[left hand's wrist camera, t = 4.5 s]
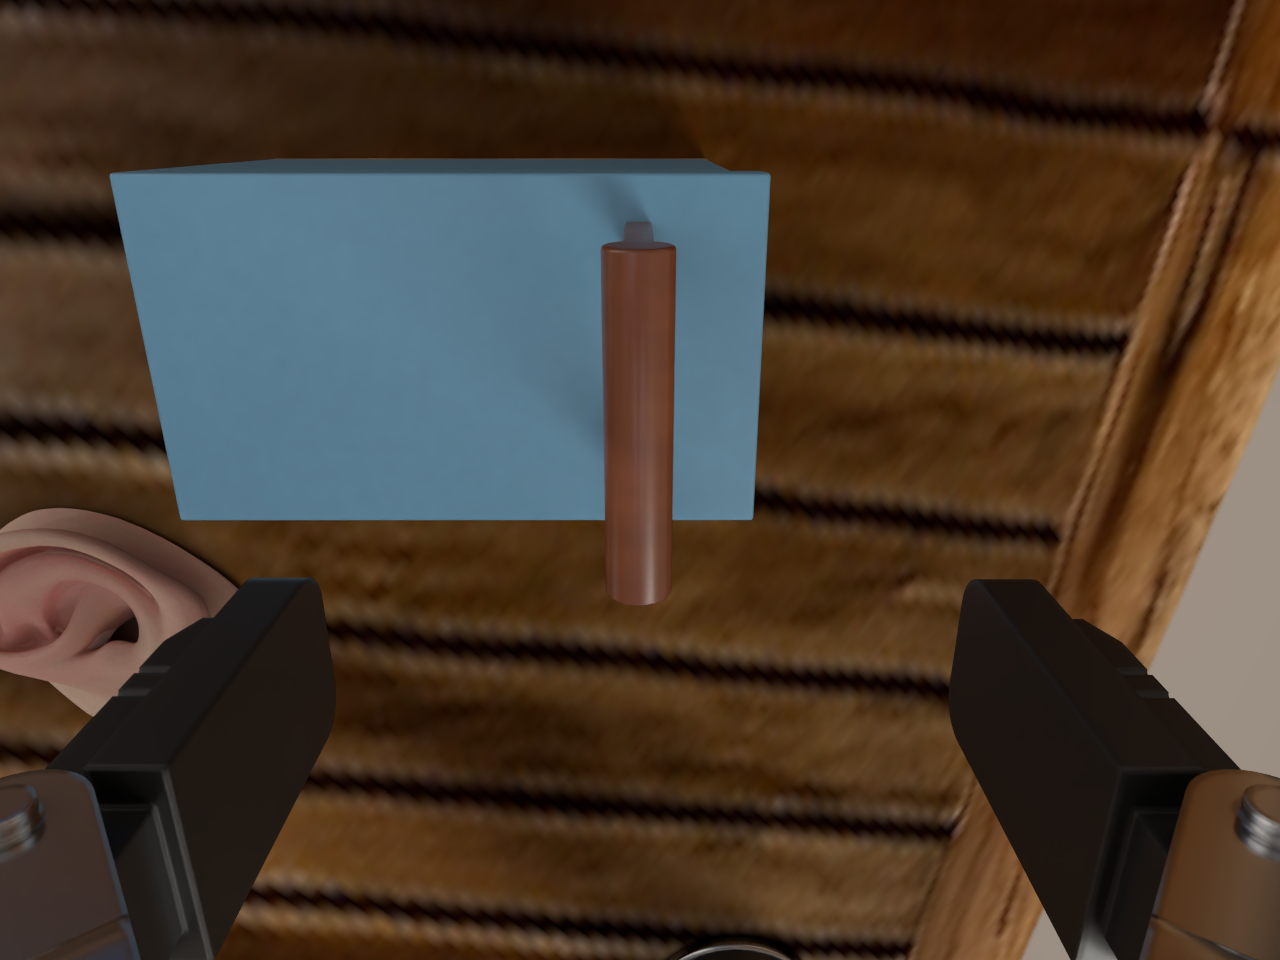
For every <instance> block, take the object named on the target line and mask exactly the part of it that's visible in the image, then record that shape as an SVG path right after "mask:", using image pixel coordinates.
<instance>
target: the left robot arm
mask: <svg viewBox="0 0 1280 960" xmlns="http://www.w3.org/2000/svg"><path fill="white" fill-rule="evenodd" d="M335 704H336V688H335V680H334V673H333V666H332V660H331V653H330V646H329V639H328V633H327V626H326V619H325V613H324V606H323V599H322V594H321V591H320V588H319V585H318V583H317V582H316V581H315V580H314V579H312V578H250V579H248V580H246V581H245V582H244V583H243V584H242V586H241V587H240V588H239V589H238V590H237V591H236V592H235V594H234V595H233V596H232V597H231V598H230V599H229V601H228V602H227V603H226V604H225V605H224V606H223V607H222V609H221V610H220V611H219V612H218V613H217V614H216V615H215V617H214V618H201V619H200V620H198V621H196V622H195V623H193V624H191V625H190V626H188V627H186V628H185V629H183V630H181V631H180V632H178V633H176V634H175V635H173V636H171V637H169V638H168V639H166V640H164V641H163V643H162V644H161V645H160V646H159V647H158V648H157V649H156V650H155V651H154V652H153V653H152V654H151V655H150V657H149V658H148V659H147V660H146V661H145V662H144V663H143V664H142V665H141V666H140V667H139V673H134V674H133V675H132V676H131V677H130V678H129V679H128V680H127V681H126V682H125V683H124V685H123V686H122V687H121V688H120V689H119V690H118V696H112V697H111V699H110V700H109V701H108V702H107V703H106V704H105V705H104V706H103V707H102V708H101V709H100V710H99V711H98V713H97V714H96V715H95V716H94V717H93V718H92V719H91V720H90V721H89V722H88V723H87V724H86V725H85V727H84V728H83V729H82V730H81V731H80V732H79V733H78V734H77V735H76V736H75V737H74V738H73V739H72V741H71V742H70V743H69V744H68V745H67V746H66V747H65V748H64V749H63V750H62V751H61V752H60V753H59V755H58V756H57V757H56V758H55V759H54V760H53V761H52V762H51V763H50V764H49V765H48V766H47V767H46V769H44V770H34V771H27V772H22V773H18V774H13V775H9V776H6V777H3V778H0V960H215V958H216V956H217V954H218V952H219V950H220V948H221V946H222V944H223V942H224V940H225V938H226V936H227V934H228V932H229V930H230V928H231V927H232V925H233V923H234V921H235V919H236V917H237V915H238V913H239V911H240V909H241V907H242V905H243V903H244V901H245V899H246V897H247V895H248V893H249V891H250V889H251V887H252V885H253V884H254V882H255V880H256V878H257V876H258V874H259V872H260V870H261V868H262V866H263V864H264V862H265V860H266V858H267V856H268V854H269V852H270V850H271V848H272V846H273V844H274V843H275V841H276V839H277V837H278V835H279V833H280V831H281V829H282V827H283V825H284V823H285V821H286V819H287V817H288V815H289V813H290V811H291V809H292V807H293V805H294V803H295V801H296V800H297V798H298V796H299V794H300V792H301V790H302V788H303V786H304V784H305V782H306V780H307V778H308V776H309V774H310V772H311V770H312V768H313V766H314V764H315V762H316V760H317V758H318V757H319V755H320V753H321V751H322V749H323V747H324V745H325V743H326V741H327V739H328V737H329V734H330V731H331V728H332V724H333V720H334V714H335ZM949 711H950V718H951V723H952V727H953V731H954V734H955V737H956V739H957V741H958V743H959V745H960V747H961V749H962V751H963V753H964V755H965V757H966V759H967V760H968V762H969V764H970V766H971V768H972V770H973V772H974V774H975V776H976V778H977V780H978V782H979V784H980V786H981V788H982V789H983V791H984V793H985V795H986V797H987V799H988V801H989V803H990V805H991V807H992V809H993V811H994V813H995V815H996V816H997V818H998V820H999V822H1000V824H1001V826H1002V828H1003V830H1004V832H1005V834H1006V836H1007V838H1008V840H1009V842H1010V843H1011V845H1012V847H1013V849H1014V851H1015V853H1016V855H1017V857H1018V859H1019V861H1020V863H1021V865H1022V867H1023V869H1024V871H1025V872H1026V874H1027V876H1028V878H1029V880H1030V882H1031V884H1032V886H1033V888H1034V890H1035V892H1036V894H1037V896H1038V898H1039V899H1040V901H1041V903H1042V905H1043V907H1044V909H1045V911H1046V913H1047V915H1048V917H1049V919H1050V921H1051V923H1052V924H1053V926H1054V928H1055V930H1056V932H1057V934H1058V936H1059V938H1060V940H1061V942H1062V944H1063V946H1064V948H1065V950H1066V952H1067V954H1068V955H1069V957H1070V959H1071V960H1280V778H1277V777H1274V776H1271V775H1267V774H1262V773H1258V772H1253V771H1245V770H1241V769H1240V768H1239V767H1238V766H1237V765H1236V764H1235V763H1234V762H1233V761H1232V760H1231V759H1230V757H1229V756H1228V755H1227V754H1226V753H1225V752H1224V751H1223V750H1222V749H1221V748H1220V747H1219V746H1218V745H1217V744H1216V743H1215V741H1214V740H1213V739H1212V738H1211V737H1210V736H1209V735H1208V734H1207V733H1206V732H1205V731H1204V730H1203V729H1202V728H1201V726H1200V725H1199V724H1198V723H1197V722H1196V721H1195V720H1194V719H1193V718H1192V717H1191V716H1190V715H1189V714H1188V713H1187V712H1186V710H1185V709H1184V708H1183V707H1182V706H1181V705H1180V704H1179V703H1178V702H1177V701H1176V700H1175V699H1174V698H1169V696H1168V691H1167V690H1166V689H1165V688H1164V687H1163V686H1162V685H1161V684H1160V683H1159V682H1158V681H1157V680H1156V678H1155V677H1154V676H1153V675H1148V674H1147V669H1146V668H1145V667H1144V666H1143V665H1142V663H1141V662H1140V661H1139V660H1138V659H1137V658H1136V657H1135V656H1134V655H1133V654H1132V653H1131V652H1130V651H1129V650H1128V649H1127V647H1126V646H1125V645H1124V644H1123V643H1122V642H1120V641H1119V640H1117V639H1115V638H1114V637H1112V636H1110V635H1108V634H1107V633H1105V632H1103V631H1102V630H1100V629H1098V628H1097V627H1095V626H1093V625H1092V624H1090V623H1088V622H1087V621H1085V620H1083V619H1072V618H1071V617H1070V616H1069V615H1068V614H1067V613H1066V612H1065V610H1064V609H1063V608H1062V607H1061V606H1060V605H1059V604H1058V602H1057V601H1056V600H1055V599H1054V598H1053V597H1052V596H1051V594H1050V593H1049V592H1048V591H1047V590H1046V589H1045V588H1044V587H1043V585H1042V584H1041V583H1040V582H1038V581H1037V580H1033V579H974V580H971V581H970V582H969V583H968V585H967V587H966V589H965V592H964V595H963V600H962V606H961V613H960V620H959V626H958V633H957V640H956V646H955V653H954V659H953V666H952V673H951V679H950V686H949ZM669 960H799V959H798V958H797V957H795V956H794V955H793V954H791V953H790V952H789V951H787V950H785V949H783V948H781V947H779V946H777V945H775V944H772V943H769V942H766V941H762V940H758V939H753V938H745V937H725V938H717V939H711V940H707V941H703V942H700V943H697V944H694V945H692V946H690V947H687V948H685V949H683V950H682V951H680V952H678V953H677V954H675V955H674V956H672V957H671V958H670V959H669Z"/></svg>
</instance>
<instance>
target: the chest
mask: <svg viewBox="0 0 1280 960" xmlns="http://www.w3.org/2000/svg"><path fill="white" fill-rule="evenodd" d="M140 171H729V170H727V169H725V168H723V167H720V166H718V165H716V164H714V163H712V162H710V161H708V160H707V159H706V158H276V159H269V160H257V161H246V162H234V163H222V164H210V165H199V166H187V167H175V168H163V169H151V170H140Z"/></svg>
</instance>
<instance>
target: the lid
mask: <svg viewBox="0 0 1280 960" xmlns="http://www.w3.org/2000/svg"><path fill="white" fill-rule="evenodd" d="M770 178H771V177H770V174H769V173H766V172H763V171H128V172H117V173H112V174H110V181H111V185H112V190H113V195H114V200H115V205H116V209H117V214H118V219H119V224H120V229H121V234H122V238H123V243H124V248H125V253H126V258H127V263H128V267H129V272H130V277H131V282H132V287H133V291H134V296H135V301H136V306H137V311H138V316H139V320H140V325H141V330H142V335H143V340H144V345H145V349H146V354H147V359H148V364H149V369H150V373H151V378H152V383H153V388H154V393H155V398H156V402H157V407H158V412H159V417H160V422H161V427H162V431H163V436H164V441H165V446H166V451H167V456H168V460H169V465H170V470H171V475H172V480H173V484H174V489H175V494H176V499H177V504H178V509H179V513H180V518H181V520H605V565H606V591H607V593H608V595H609V596H610V598H612V599H613V600H615V601H617V602H619V603H622V604H626V605H633V606H645V605H651V604H655V603H658V602H661V601H663V600H664V599H666V598H667V597H668V596H669V594H670V592H671V589H672V526H673V520H751V519H752V518H753V510H754V490H755V471H756V451H757V432H758V412H759V393H760V373H761V354H762V334H763V315H764V295H765V275H766V256H767V236H768V217H769V197H770Z"/></svg>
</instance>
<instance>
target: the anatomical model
mask: <svg viewBox="0 0 1280 960" xmlns="http://www.w3.org/2000/svg"><path fill="white" fill-rule="evenodd" d="M237 590H238V589H237V588H236V587H235V586H234V585H233V584H232V583H231V582H230V581H228V580H227V579H226V578H225V577H223V576H222V575H221V574H219V573H218V572H217V571H215V570H214V569H212V568H211V567H210V566H208V565H207V564H205V563H204V562H202V561H200V560H199V559H197V558H196V557H194V556H192V555H191V554H189V553H188V552H186V551H185V550H183V549H181V548H180V547H178V546H176V545H174V544H173V543H171V542H169V541H167V540H166V539H164V538H162V537H160V536H158V535H156V534H154V533H152V532H150V531H148V530H146V529H143V528H141V527H139V526H136V525H134V524H131V523H129V522H126V521H124V520H121V519H119V518H115V517H112V516H108V515H105V514H101V513H97V512H92V511H87V510H79V509H70V508H49V509H42V510H36V511H33V512H29V513H27V514H24V515H22V516H20V517H18V518H17V519H15V520H13V521H11V522H10V523H8V524H7V525H6V526H5V527H3V528H2V529H1V530H0V669H2V670H5V671H8V672H11V673H15V674H19V675H24V676H28V677H32V678H37V679H41V680H45V681H49V682H50V683H51V684H52V685H53V686H54V687H56V688H57V689H58V690H59V691H60V692H61V693H62V694H64V695H65V696H66V697H67V698H68V699H70V700H71V701H72V702H73V703H75V704H76V705H77V706H79V707H80V708H81V709H83V710H84V711H85V712H87V713H88V714H90V715H91V716H93V717H94V716H95V715H96V714H97V713H98V711H99V710H100V709H101V708H102V707H103V706H104V705H105V704H106V703H107V702H108V701H109V700H110V699H111V697H112V696H118V690H119V689H120V688H121V687H122V686H123V685H124V683H125V682H126V681H127V680H128V679H129V678H130V677H131V676H132V675H133V674H134V673H139V667H140V666H141V665H142V664H143V663H144V662H145V661H146V660H147V659H148V658H149V657H150V655H151V654H152V653H153V652H154V651H155V650H156V649H157V648H158V647H159V646H160V645H161V644H162V643H163V641H164V640H166V639H168V638H169V637H171V636H173V635H175V634H176V633H178V632H180V631H181V630H183V629H185V628H186V627H188V626H190V625H191V624H193V623H195V622H196V621H198V620H200V619H201V618H214V617H215V615H216V614H217V613H218V612H219V611H220V610H221V609H222V607H223V606H224V605H225V604H226V603H227V602H228V601H229V599H230V598H231V597H232V596H233V595H234V594H235V592H236V591H237Z"/></svg>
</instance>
